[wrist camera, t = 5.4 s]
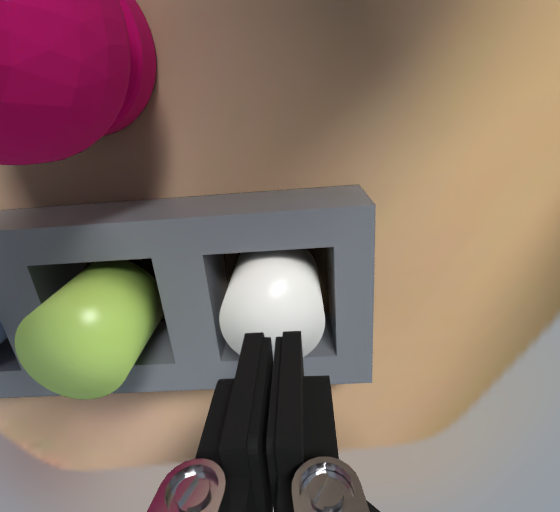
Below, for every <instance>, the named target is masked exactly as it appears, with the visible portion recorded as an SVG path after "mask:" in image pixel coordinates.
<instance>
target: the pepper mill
mask: <svg viewBox="0 0 560 512" xmlns="http://www.w3.org/2000/svg"><path fill="white" fill-rule="evenodd" d="M155 76H156V53H155V46H154V42H153V38H152V34H151V31H150V28H149V25H148V23H147V21H146V18H145V16H144V14H143V12H142V10H141V9H140V7H139V5H138V4H137V2H136V1H135V0H0V165H28V164H38V163H48V162H53V161H58V160H63V159H66V158H68V157H70V156H73V155H75V154H77V153H80V152H82V151H84V150H85V149H87V148H89V147H90V146H91V145H92V144H94V143H95V142H96V141H97V140H99V139H100V138H101V137H102V136H105V135H109V134H112V133H115V132H117V131H119V130H121V129H123V128H125V127H127V126H128V125H129V124H131V123H132V122H133V121H134V120H135V119H136V118H137V117H138V116H139V115H140V114H141V112H142V111H143V110H144V108H145V107H146V105H147V103H148V101H149V99H150V96H151V94H152V91H153V87H154V82H155Z"/></svg>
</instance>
